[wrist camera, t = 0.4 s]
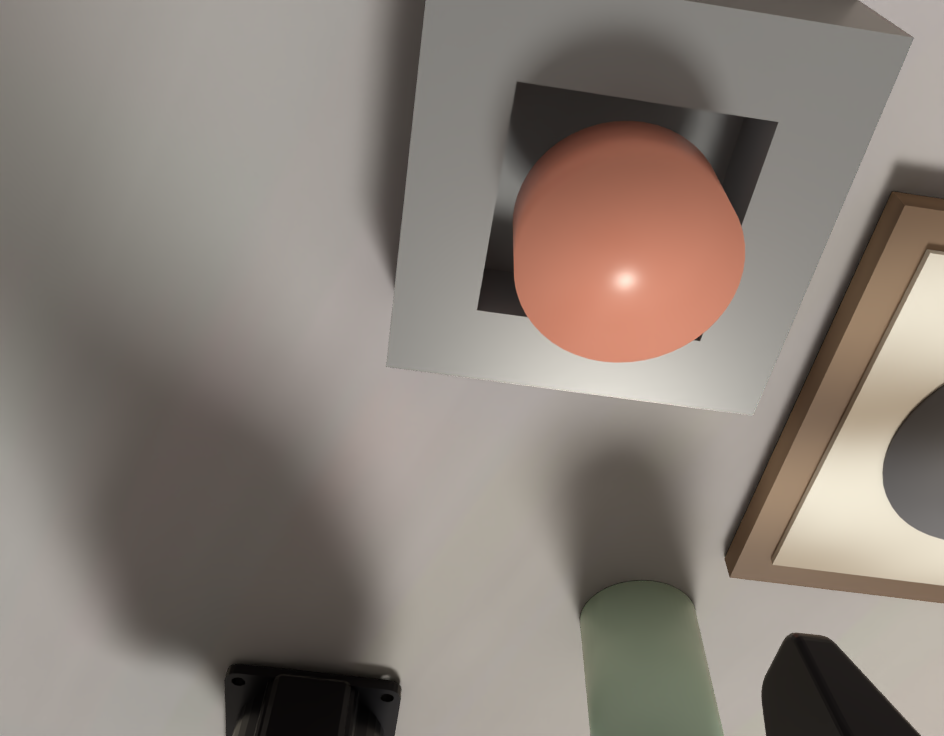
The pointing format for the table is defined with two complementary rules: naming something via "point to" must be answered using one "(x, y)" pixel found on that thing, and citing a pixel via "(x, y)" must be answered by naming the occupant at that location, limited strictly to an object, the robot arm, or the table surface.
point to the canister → (646, 664)
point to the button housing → (644, 100)
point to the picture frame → (865, 433)
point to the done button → (625, 243)
